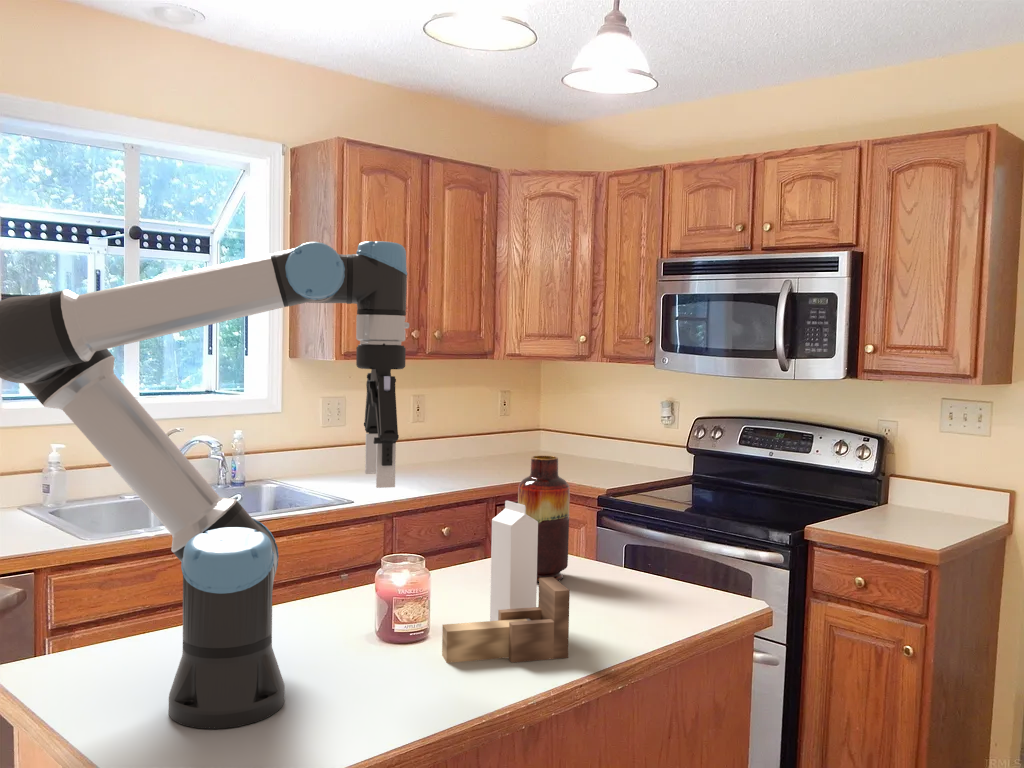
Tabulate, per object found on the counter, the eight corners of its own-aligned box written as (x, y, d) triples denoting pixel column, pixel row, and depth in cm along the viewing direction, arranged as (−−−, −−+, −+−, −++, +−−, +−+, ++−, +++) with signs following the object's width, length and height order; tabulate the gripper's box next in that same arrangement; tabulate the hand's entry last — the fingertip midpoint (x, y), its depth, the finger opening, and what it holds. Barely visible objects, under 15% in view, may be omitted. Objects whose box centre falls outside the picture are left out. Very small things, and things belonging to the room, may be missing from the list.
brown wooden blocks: (511, 662, 140) (512, 593, 139) (497, 645, 147) (499, 580, 147) (568, 657, 142) (569, 590, 142) (551, 640, 150) (553, 576, 150)
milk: (509, 632, 154) (511, 507, 153) (489, 623, 159) (491, 501, 158) (536, 626, 158) (538, 503, 157) (516, 617, 163) (518, 498, 162)
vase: (512, 582, 186) (515, 459, 185) (520, 569, 197) (523, 453, 196) (564, 586, 184) (567, 461, 183) (570, 572, 195) (572, 455, 194)
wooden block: (446, 662, 139) (447, 631, 139) (442, 655, 142) (442, 624, 142) (534, 655, 143) (535, 624, 143) (528, 648, 146) (529, 618, 146)
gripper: (419, 344, 125) (417, 492, 126) (393, 343, 149) (391, 468, 150) (366, 343, 123) (364, 494, 124) (348, 342, 147) (347, 468, 148)
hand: (379, 480), depth 137 cm, fingers open, 13 cm apart
